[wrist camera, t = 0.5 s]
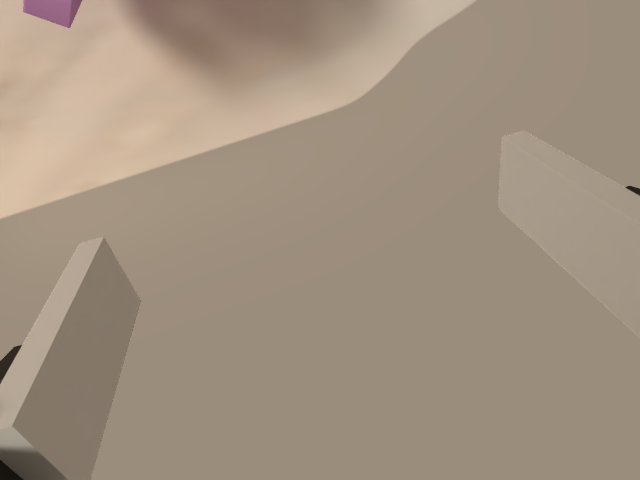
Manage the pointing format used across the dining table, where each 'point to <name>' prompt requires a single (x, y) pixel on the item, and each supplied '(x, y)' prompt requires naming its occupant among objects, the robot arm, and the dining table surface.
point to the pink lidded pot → (53, 10)
